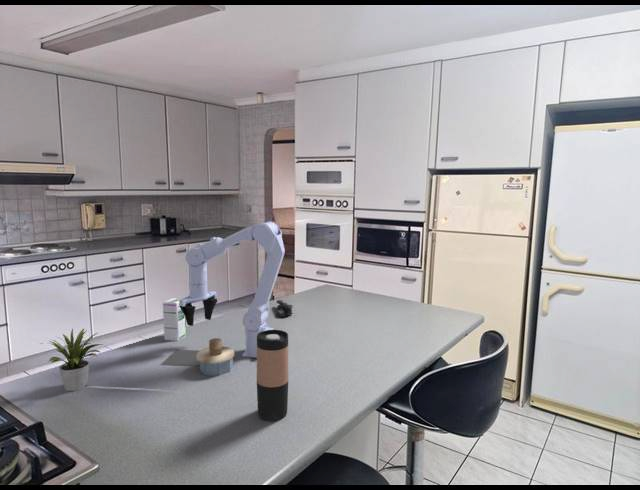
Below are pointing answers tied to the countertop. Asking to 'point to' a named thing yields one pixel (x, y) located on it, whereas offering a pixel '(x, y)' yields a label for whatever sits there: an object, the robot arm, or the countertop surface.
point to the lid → (215, 353)
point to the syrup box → (174, 320)
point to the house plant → (74, 361)
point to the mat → (182, 358)
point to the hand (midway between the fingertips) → (199, 322)
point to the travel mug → (272, 374)
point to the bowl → (216, 368)
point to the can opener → (284, 309)
